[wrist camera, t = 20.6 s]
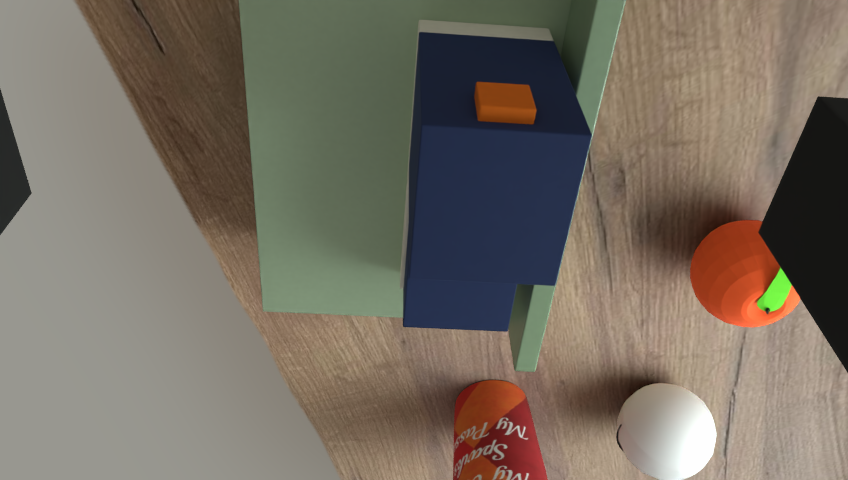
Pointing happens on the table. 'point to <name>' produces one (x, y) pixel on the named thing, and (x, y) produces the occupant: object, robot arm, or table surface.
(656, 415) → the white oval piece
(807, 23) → the table surface
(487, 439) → the coffee cup
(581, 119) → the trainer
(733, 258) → the clementine
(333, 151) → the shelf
